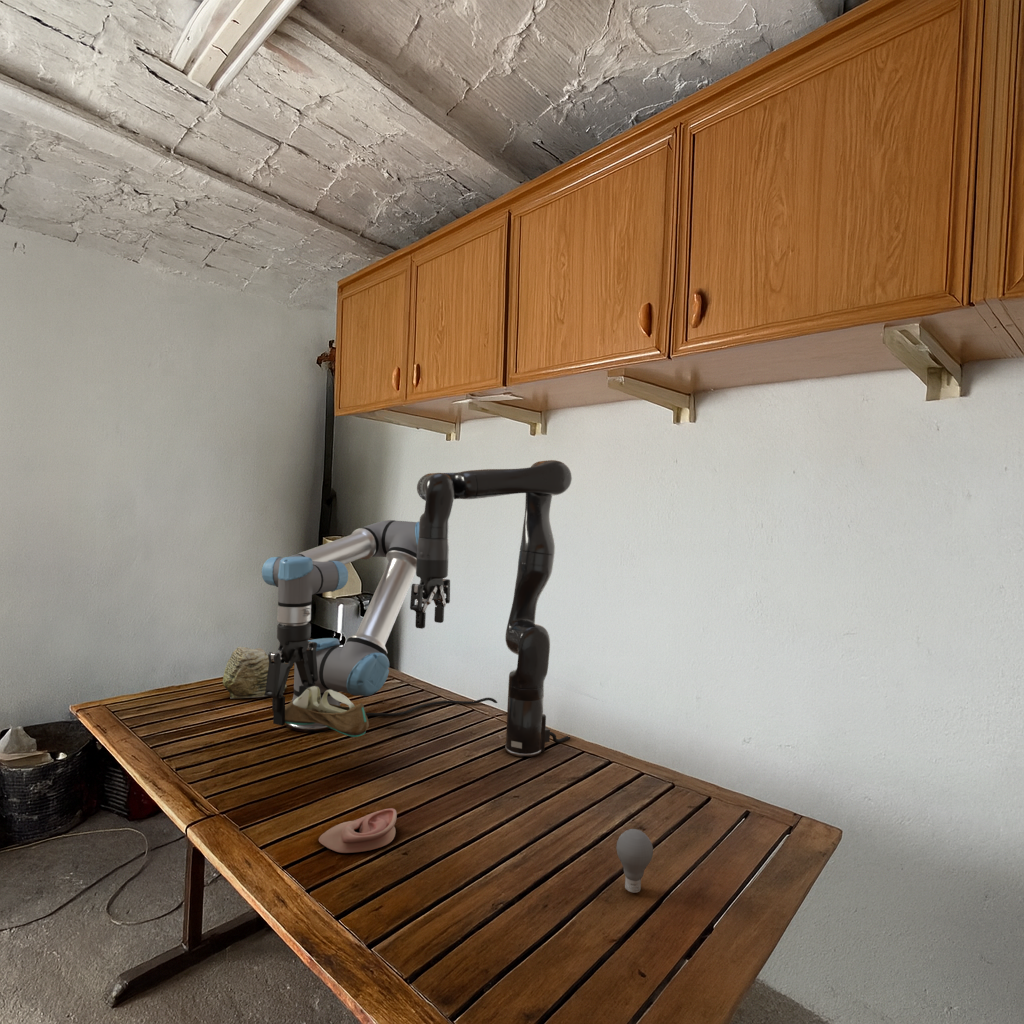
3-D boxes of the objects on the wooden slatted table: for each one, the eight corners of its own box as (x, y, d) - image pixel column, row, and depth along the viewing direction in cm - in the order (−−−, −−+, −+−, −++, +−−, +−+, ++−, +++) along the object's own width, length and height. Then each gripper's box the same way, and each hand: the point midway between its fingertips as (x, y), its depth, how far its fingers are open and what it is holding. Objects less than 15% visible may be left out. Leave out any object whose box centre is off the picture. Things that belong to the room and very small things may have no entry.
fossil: (218, 695, 195) (220, 647, 195) (278, 685, 208) (279, 640, 207) (228, 703, 189) (230, 653, 188) (289, 692, 201) (290, 645, 201)
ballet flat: (293, 711, 155) (294, 676, 155) (376, 730, 146) (377, 692, 145) (268, 722, 148) (269, 685, 148) (353, 743, 138) (354, 703, 138)
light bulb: (610, 879, 108) (613, 822, 108) (644, 879, 109) (647, 822, 109) (619, 902, 102) (622, 840, 102) (655, 901, 103) (658, 840, 103)
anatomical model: (310, 826, 114) (340, 797, 125) (309, 848, 114) (339, 817, 125) (379, 837, 111) (403, 806, 122) (378, 859, 111) (403, 827, 123)
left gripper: (274, 632, 138) (271, 736, 139) (335, 617, 157) (332, 708, 158) (248, 628, 141) (246, 729, 142) (311, 613, 160) (309, 703, 161)
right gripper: (430, 560, 142) (427, 632, 142) (460, 556, 155) (458, 622, 155) (402, 557, 145) (399, 628, 145) (434, 554, 158) (431, 618, 158)
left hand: (291, 718), depth 150 cm, fingers closed on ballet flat, 7 cm apart
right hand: (429, 625), depth 150 cm, fingers open, 8 cm apart
